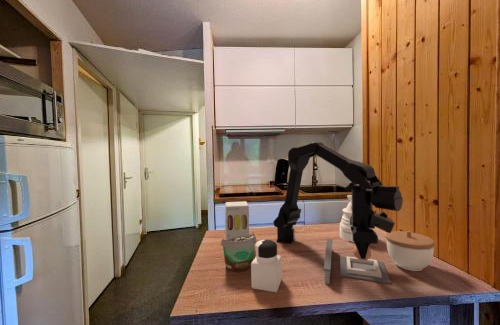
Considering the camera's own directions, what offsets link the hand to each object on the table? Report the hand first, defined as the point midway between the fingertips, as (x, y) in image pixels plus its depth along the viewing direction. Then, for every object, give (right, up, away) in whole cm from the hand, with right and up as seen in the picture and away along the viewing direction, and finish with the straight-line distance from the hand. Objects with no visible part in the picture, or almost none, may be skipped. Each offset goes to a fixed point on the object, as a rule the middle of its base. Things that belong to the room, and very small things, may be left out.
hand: (362, 254), depth 72 cm
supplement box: (-40, -5, +24) cm, 47 cm away
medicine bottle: (-30, -6, -6) cm, 31 cm away
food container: (-37, -6, +3) cm, 38 cm away
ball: (0, +1, 0) cm, 1 cm away
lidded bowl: (+16, -4, +2) cm, 16 cm away
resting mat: (0, -5, 0) cm, 5 cm away
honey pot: (+10, -4, +27) cm, 29 cm away
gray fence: (-9, -5, +4) cm, 11 cm away
